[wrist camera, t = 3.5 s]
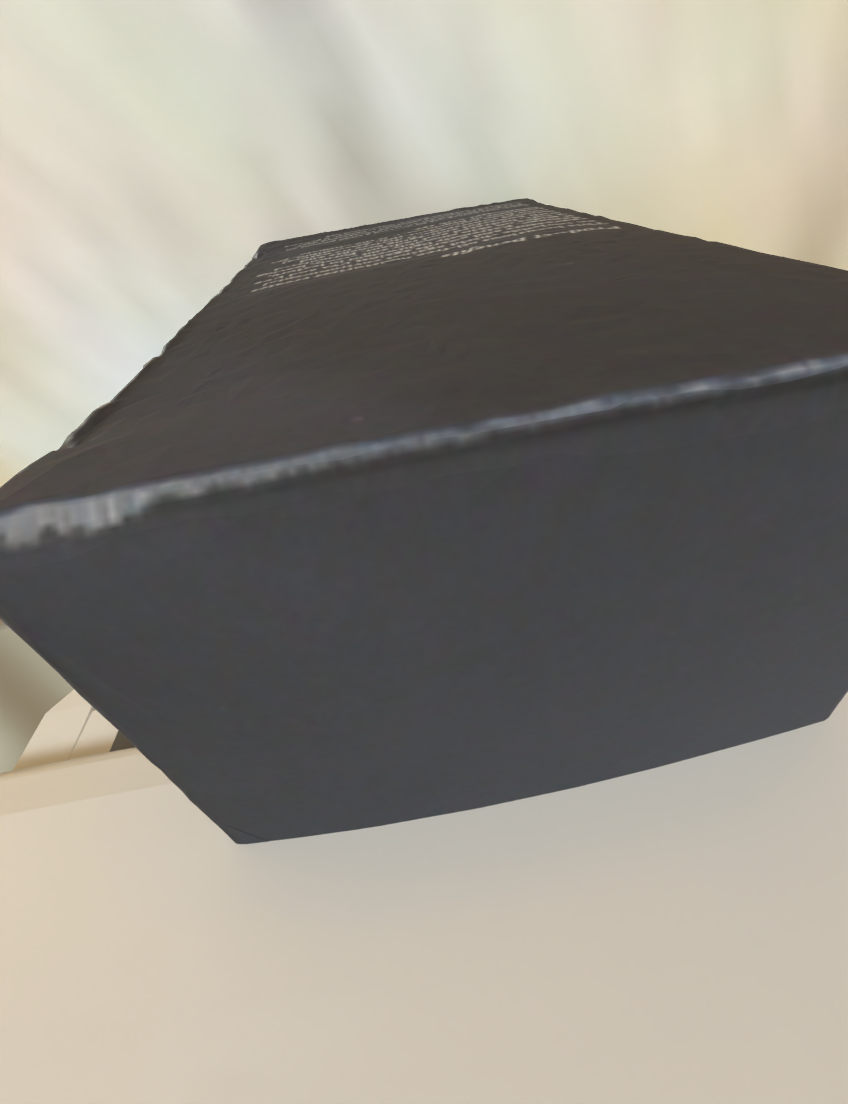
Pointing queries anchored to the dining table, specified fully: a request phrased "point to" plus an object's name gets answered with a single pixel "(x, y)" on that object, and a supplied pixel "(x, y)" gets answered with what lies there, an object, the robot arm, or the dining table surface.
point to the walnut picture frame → (23, 695)
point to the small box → (454, 520)
